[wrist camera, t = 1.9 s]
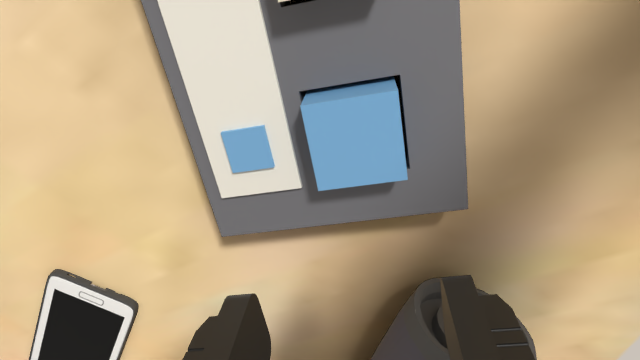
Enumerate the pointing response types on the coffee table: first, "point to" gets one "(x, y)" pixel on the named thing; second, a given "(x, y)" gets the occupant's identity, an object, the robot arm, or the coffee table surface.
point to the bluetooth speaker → (423, 328)
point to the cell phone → (81, 320)
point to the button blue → (355, 133)
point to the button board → (289, 91)
